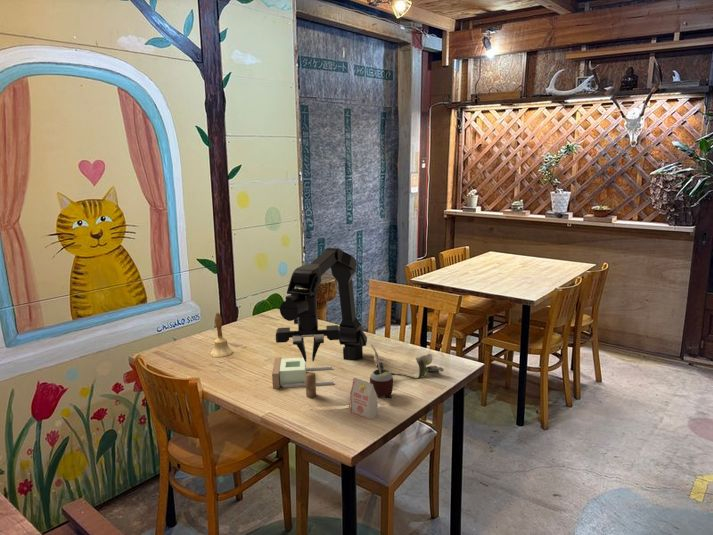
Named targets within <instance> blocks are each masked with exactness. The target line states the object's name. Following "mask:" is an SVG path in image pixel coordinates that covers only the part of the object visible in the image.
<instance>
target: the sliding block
mask: <svg viewBox="0 0 713 535" xmlns="http://www.w3.org/2000/svg"><path fill="white" fill-rule="evenodd" d="M306 363H307V361H306V362H305V360H304V358H303V357H296V358H295V357H293V358H281V364H280V370H279V373H280V387H283V384H291V383H306V380H305V374H306V373H307V371H306V368H307V364H306Z"/></svg>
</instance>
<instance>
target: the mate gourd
mask: <svg viewBox="0 0 713 535" xmlns="http://www.w3.org/2000/svg"><path fill="white" fill-rule="evenodd" d="M370 346H371V347H372V350H373V351H374V355H375V359H376V362H377V363H378V368H379V369H378V368H377V369H375V370H373V371H372V373H371V374H370V377H369V383H371V384H373V386H374V389H375V392H376V394H377V399H380V398H382V397H384V399H388V400H389V399H392V398H393V396H392V393H393V390H394V389H393V388H394V377H393V375H392V374H391V373H392V372H391V371H390V370H388V369H385V368H384V369H380V364H379V363H380V360H379V353H378V352H377V350H376V348H375V347H374V345H373V344H370Z"/></svg>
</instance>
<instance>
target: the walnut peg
mask: <svg viewBox="0 0 713 535" xmlns="http://www.w3.org/2000/svg"><path fill="white" fill-rule="evenodd" d="M305 380H306V386H305V395H306V398H308V399H313V398H314V399H315V398H316V397H317V386H316V382H317V381H316V380H317V379H316V373H315V372H312V371H308V372H306V374H305Z"/></svg>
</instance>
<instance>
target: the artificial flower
mask: <svg viewBox="0 0 713 535" xmlns="http://www.w3.org/2000/svg"><path fill="white" fill-rule="evenodd" d="M415 361H416V364H417V365H418V368H419V370H418V371H419V373H418V376H417V377H414V376H410V375H406V374H403V373H393V372H391V374H392V376H400V377H407V378H410V379H413V380H419V379H421V378H423V377H425V375H426V373H427V371H429V372H436V371H437V373H438V372H444V370H445V369H444V368H443V367H439V366H437V365H430V364H432V362H433V355H432V353H428V354H425V355H421V356H420V357H415ZM379 364H380V369H385V368H384V365H383V363H382V362H379ZM376 368H377V369H379V368H378V363H377V364H376Z"/></svg>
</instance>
